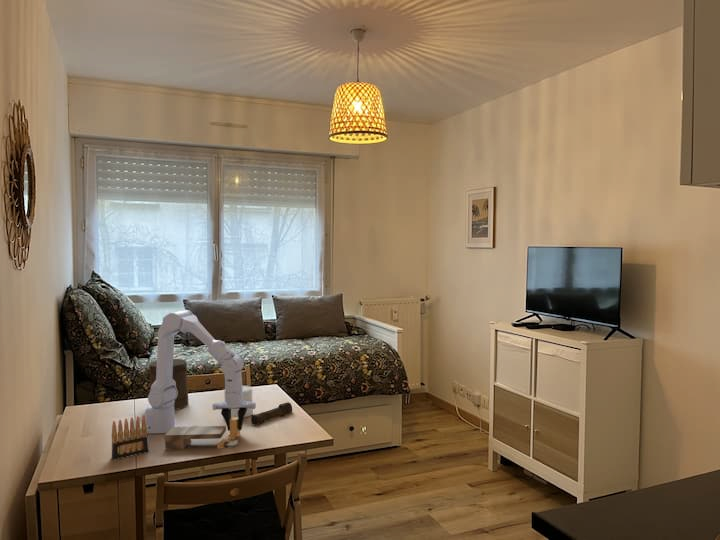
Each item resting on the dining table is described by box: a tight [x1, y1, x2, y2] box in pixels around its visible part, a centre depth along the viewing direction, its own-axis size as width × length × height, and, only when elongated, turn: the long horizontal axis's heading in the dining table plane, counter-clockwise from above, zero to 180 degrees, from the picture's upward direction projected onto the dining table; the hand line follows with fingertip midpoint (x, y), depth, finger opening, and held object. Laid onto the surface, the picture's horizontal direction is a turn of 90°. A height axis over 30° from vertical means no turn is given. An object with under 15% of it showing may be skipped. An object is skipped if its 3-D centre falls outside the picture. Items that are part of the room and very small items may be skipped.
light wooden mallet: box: [216, 417, 241, 449], centre depth 186 cm, size 3×13×6 cm, turn 168°
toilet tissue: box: [223, 385, 254, 418], centre depth 216 cm, size 11×12×10 cm
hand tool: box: [250, 401, 293, 426], centre depth 209 cm, size 19×4×5 cm, turn 137°
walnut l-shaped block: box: [164, 425, 227, 451], centre depth 183 cm, size 18×8×5 cm, turn 91°
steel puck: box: [224, 438, 239, 448], centre depth 182 cm, size 4×4×2 cm
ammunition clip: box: [111, 414, 149, 461], centre depth 175 cm, size 11×2×12 cm, turn 125°
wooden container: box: [148, 358, 189, 411], centre depth 228 cm, size 15×15×22 cm
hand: (235, 429), depth 191 cm, fingers closed on light wooden mallet, 3 cm apart
